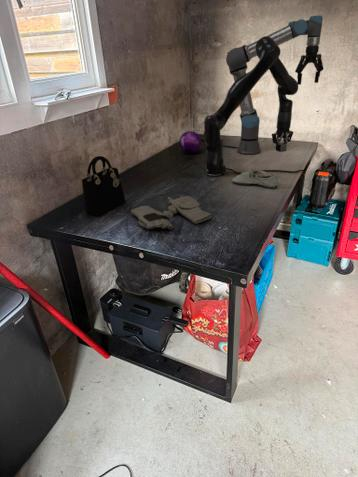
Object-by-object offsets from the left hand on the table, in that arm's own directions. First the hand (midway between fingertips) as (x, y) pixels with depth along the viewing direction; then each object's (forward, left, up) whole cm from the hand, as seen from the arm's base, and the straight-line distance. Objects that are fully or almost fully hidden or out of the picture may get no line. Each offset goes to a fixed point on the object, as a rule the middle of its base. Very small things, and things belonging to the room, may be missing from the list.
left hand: (280, 149), depth 193 cm
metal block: (0, 0, 0) cm, 0 cm away
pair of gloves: (+68, +58, -10) cm, 90 cm away
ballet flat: (+22, +26, -10) cm, 36 cm away
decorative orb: (+50, -42, -10) cm, 66 cm away
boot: (+32, -67, -10) cm, 75 cm away
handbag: (+99, +42, -10) cm, 108 cm away
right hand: (-28, -40, +31) cm, 57 cm away
